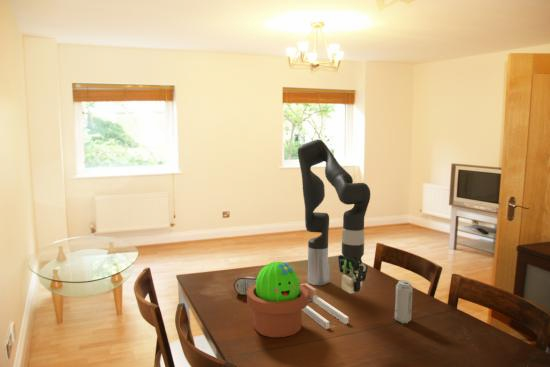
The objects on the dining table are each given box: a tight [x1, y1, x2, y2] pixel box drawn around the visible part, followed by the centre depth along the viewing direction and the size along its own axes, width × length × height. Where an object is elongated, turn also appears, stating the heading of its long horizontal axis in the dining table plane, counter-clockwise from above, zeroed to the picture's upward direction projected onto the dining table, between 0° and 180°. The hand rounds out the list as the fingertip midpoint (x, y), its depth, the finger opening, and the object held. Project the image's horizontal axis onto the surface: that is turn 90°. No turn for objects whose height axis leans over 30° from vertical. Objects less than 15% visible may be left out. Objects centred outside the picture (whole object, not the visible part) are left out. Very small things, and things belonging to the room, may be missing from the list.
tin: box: [233, 274, 258, 296], centre depth 187 cm, size 15×3×8 cm, turn 84°
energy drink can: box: [394, 279, 414, 324], centre depth 162 cm, size 6×6×15 cm
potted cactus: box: [246, 260, 309, 338], centre depth 157 cm, size 22×22×25 cm
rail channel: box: [300, 282, 350, 330], centre depth 172 cm, size 10×31×5 cm, turn 26°
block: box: [341, 273, 363, 294], centre depth 149 cm, size 5×5×5 cm
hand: (351, 288), depth 149 cm, fingers closed on block, 5 cm apart
